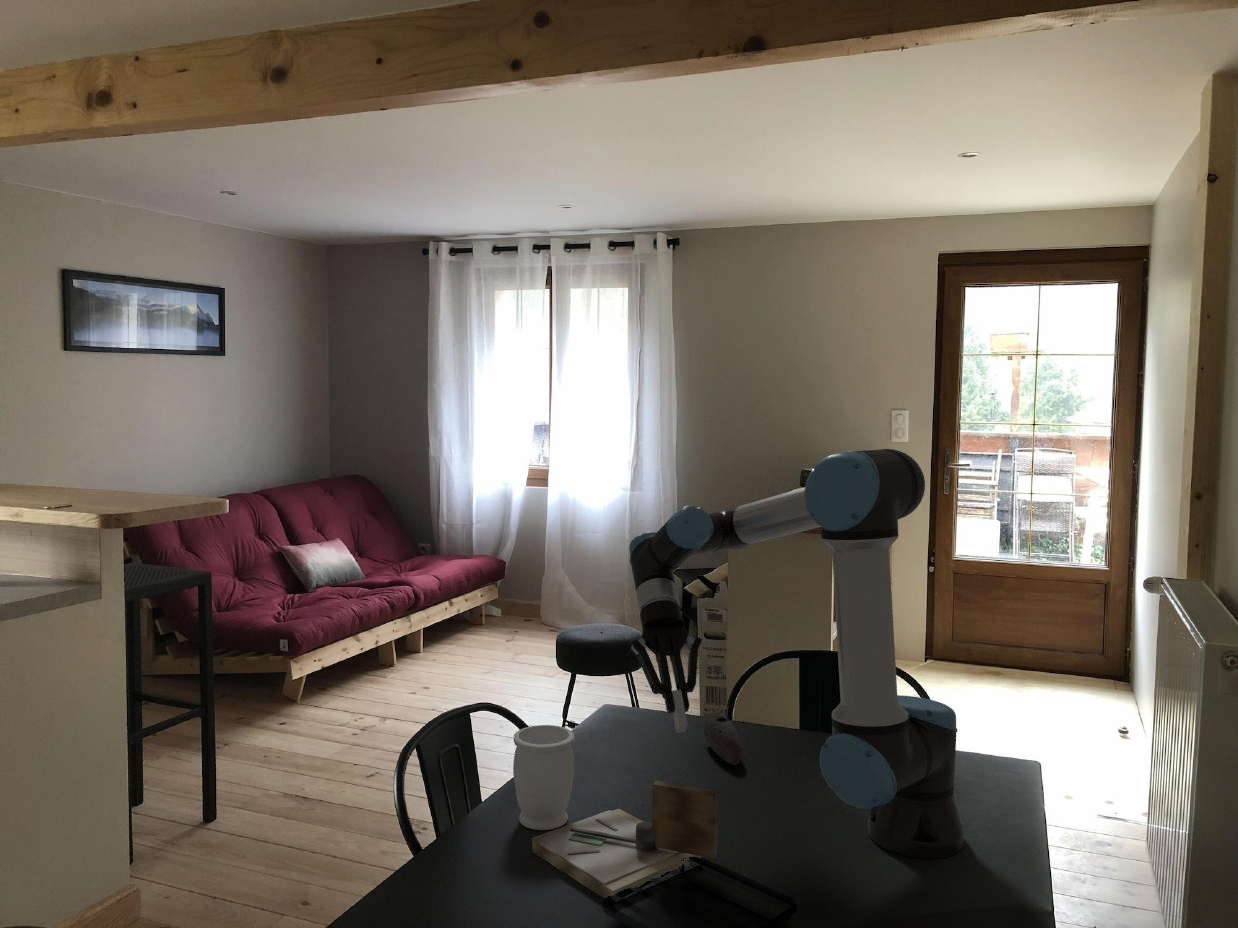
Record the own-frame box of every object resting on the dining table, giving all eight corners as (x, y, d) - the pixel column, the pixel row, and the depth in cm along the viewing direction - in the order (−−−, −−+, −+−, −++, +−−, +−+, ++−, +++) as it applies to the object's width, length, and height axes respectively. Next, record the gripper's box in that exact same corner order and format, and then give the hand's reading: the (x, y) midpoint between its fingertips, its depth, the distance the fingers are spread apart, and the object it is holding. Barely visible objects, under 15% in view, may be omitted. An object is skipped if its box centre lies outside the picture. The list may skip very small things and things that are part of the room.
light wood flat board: (701, 864, 149) (701, 848, 149) (612, 904, 137) (613, 887, 137) (618, 819, 164) (618, 805, 164) (532, 851, 152) (532, 836, 152)
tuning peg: (718, 852, 147) (719, 787, 146) (712, 863, 144) (713, 796, 143) (575, 826, 155) (575, 764, 155) (566, 835, 152) (566, 773, 151)
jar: (577, 832, 159) (577, 744, 158) (515, 836, 157) (515, 747, 156) (570, 804, 170) (570, 722, 168) (511, 808, 168) (511, 725, 167)
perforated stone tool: (749, 770, 186) (750, 735, 185) (723, 772, 185) (724, 737, 184) (726, 742, 200) (726, 709, 200) (702, 743, 199) (702, 711, 199)
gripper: (690, 618, 180) (714, 736, 165) (622, 621, 177) (640, 741, 162) (697, 596, 174) (724, 716, 159) (627, 599, 172) (647, 721, 157)
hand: (682, 728), depth 161 cm, fingers closed
